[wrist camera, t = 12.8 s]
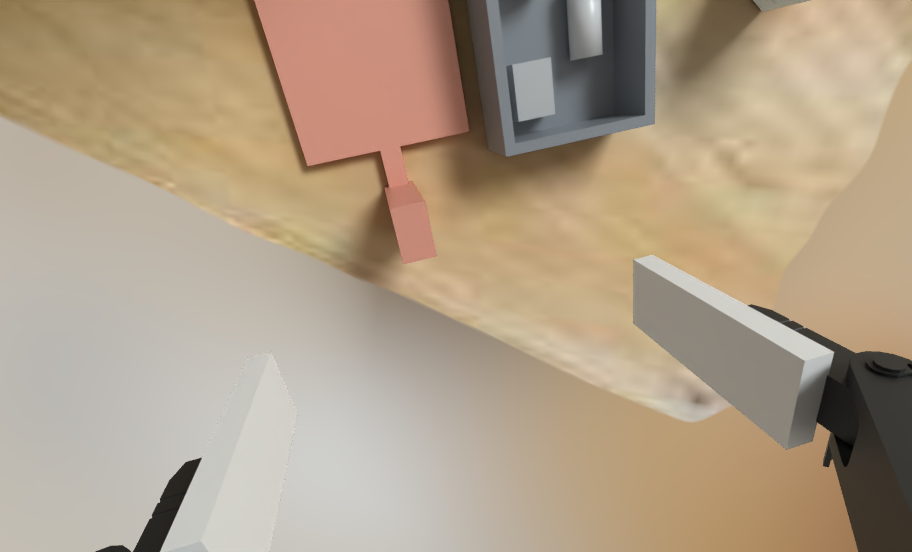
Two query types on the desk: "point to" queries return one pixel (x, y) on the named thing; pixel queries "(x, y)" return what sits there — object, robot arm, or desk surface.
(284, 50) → the lid
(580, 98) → the tub
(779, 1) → the small box
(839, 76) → the desk surface
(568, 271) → the desk surface
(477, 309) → the desk surface
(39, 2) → the desk surface
